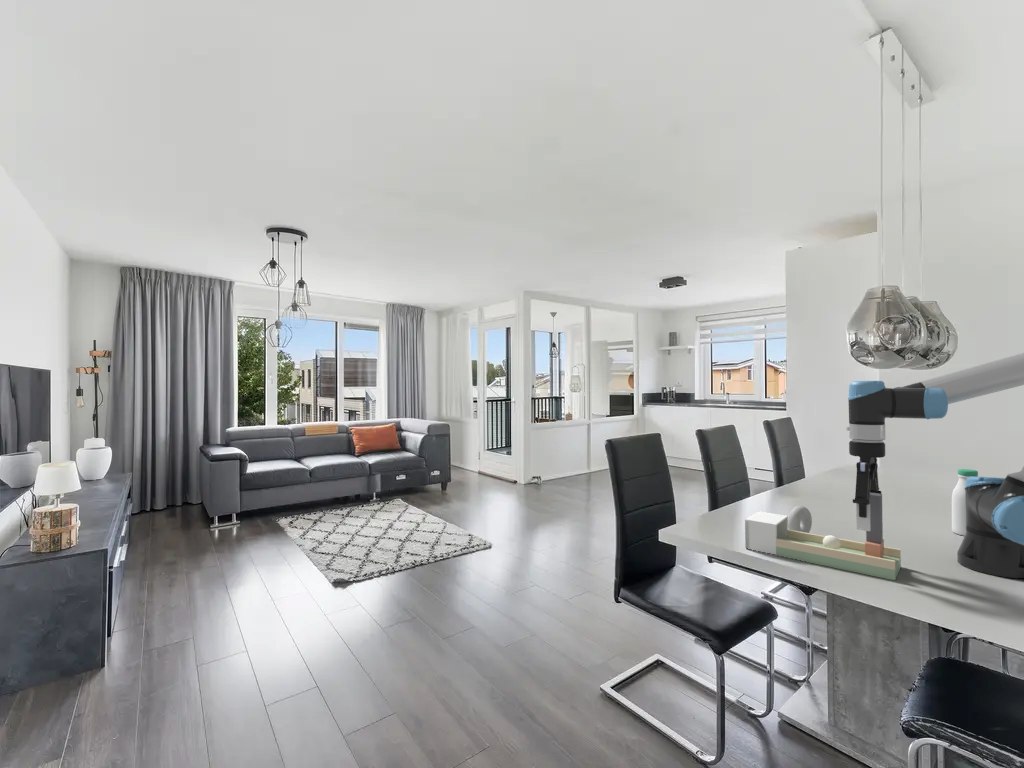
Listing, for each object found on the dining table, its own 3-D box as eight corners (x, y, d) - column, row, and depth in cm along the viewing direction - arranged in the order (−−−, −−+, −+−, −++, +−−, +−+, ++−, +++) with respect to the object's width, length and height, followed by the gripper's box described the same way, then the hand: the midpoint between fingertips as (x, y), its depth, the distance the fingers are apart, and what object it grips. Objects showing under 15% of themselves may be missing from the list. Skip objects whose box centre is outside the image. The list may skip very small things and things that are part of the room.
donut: (796, 542, 146) (796, 509, 146) (785, 539, 149) (784, 506, 149) (814, 537, 151) (814, 504, 151) (802, 534, 154) (802, 502, 154)
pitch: (900, 566, 126) (900, 533, 126) (895, 580, 117) (894, 544, 117) (758, 539, 149) (758, 511, 149) (745, 548, 141) (745, 519, 141)
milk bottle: (956, 536, 151) (955, 471, 151) (948, 529, 157) (947, 467, 157) (990, 539, 147) (989, 472, 147) (980, 532, 154) (979, 468, 154)
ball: (842, 550, 131) (841, 535, 131) (838, 554, 128) (838, 538, 128) (824, 547, 134) (824, 532, 134) (821, 550, 131) (821, 535, 131)
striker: (884, 554, 126) (883, 492, 126) (880, 561, 121) (879, 497, 121) (869, 552, 128) (868, 491, 128) (865, 559, 123) (864, 495, 123)
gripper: (857, 435, 137) (858, 512, 137) (839, 444, 120) (840, 532, 119) (891, 437, 132) (892, 517, 132) (877, 446, 114) (879, 538, 114)
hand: (867, 524), depth 126 cm, fingers open, 12 cm apart
